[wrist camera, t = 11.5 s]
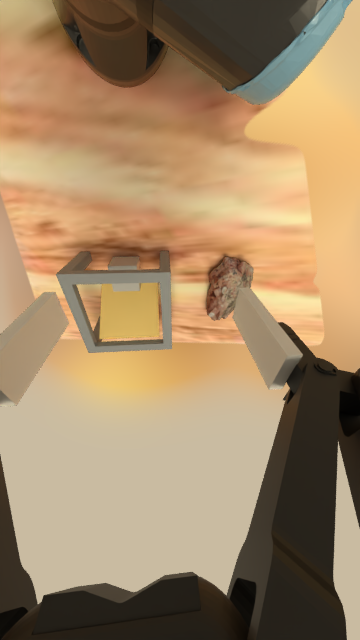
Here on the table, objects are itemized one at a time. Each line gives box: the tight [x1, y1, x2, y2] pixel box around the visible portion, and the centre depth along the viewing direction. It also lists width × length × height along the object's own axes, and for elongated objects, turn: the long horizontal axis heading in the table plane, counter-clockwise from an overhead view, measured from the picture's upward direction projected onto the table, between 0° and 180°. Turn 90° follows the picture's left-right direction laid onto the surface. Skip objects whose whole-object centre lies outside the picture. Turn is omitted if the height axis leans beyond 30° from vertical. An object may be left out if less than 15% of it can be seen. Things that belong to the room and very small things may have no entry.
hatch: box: [99, 283, 159, 339], centre depth 46 cm, size 14×14×1 cm
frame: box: [56, 251, 172, 353], centre depth 44 cm, size 20×20×12 cm
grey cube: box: [108, 256, 141, 292], centre depth 43 cm, size 6×6×6 cm
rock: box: [207, 257, 253, 321], centre depth 46 cm, size 16×11×15 cm
